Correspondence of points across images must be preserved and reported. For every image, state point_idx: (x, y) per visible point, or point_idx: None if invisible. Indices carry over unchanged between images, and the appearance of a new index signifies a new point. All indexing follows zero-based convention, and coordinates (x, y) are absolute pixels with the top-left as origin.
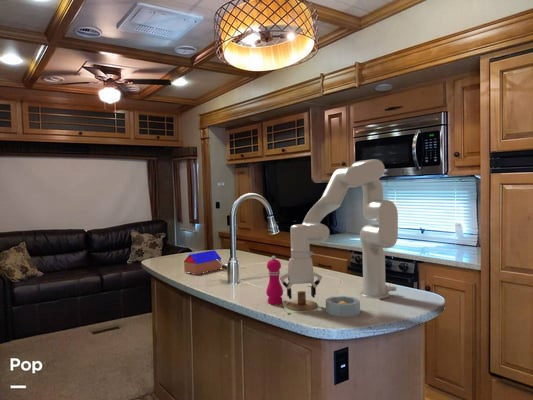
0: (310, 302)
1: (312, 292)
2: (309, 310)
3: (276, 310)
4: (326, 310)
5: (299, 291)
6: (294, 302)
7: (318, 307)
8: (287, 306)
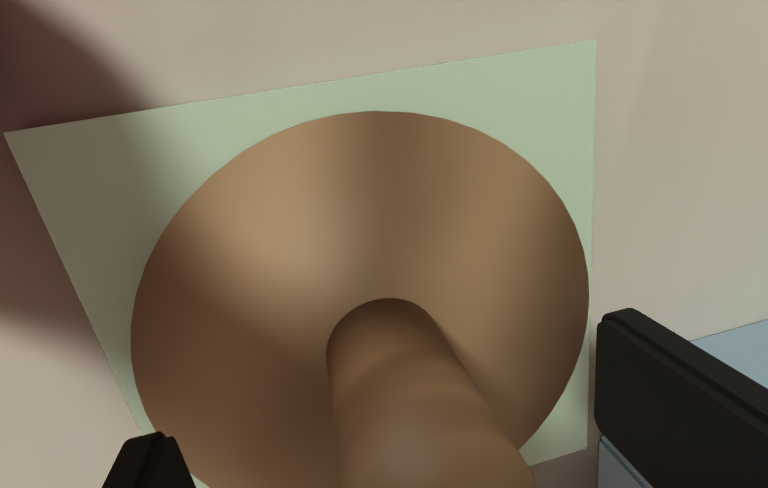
0: (514, 257)
1: (661, 478)
2: None
3: (18, 454)
4: (615, 478)
5: (400, 482)
6: (265, 261)
7: None
8: None
